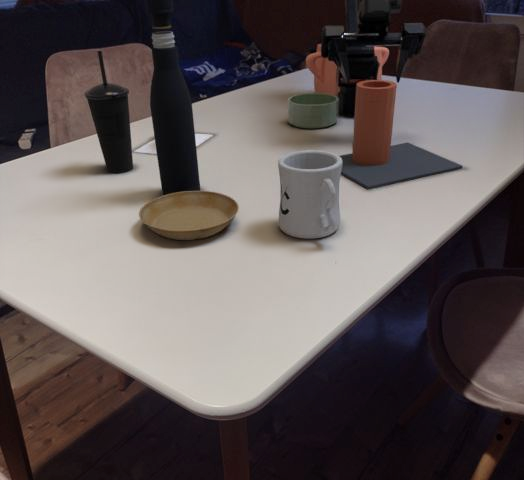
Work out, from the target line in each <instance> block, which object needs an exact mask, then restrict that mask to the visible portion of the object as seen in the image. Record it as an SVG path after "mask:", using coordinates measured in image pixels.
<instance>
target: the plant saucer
mask: <svg viewBox="0 0 524 480" xmlns="http://www.w3.org/2000/svg"><path fill="white" fill-rule="evenodd" d="M239 209H240V206H239V203H238V201H236V200H235V199H234V198H233V197H231V196H228V195H227V194H224V193H221V192H215V191H208V190H201V191H184V192H177V193H172V194H167V195H164V196H163V195H161V196H159V197H155V198H153V199H151V200H150V201H148V202H147V203H146V202H145V204H144V205H143V206H141V208H140V210H139V211H138V217H139V219H140V220H141V222H142V223H143V224H144V225H145V226H146V227H147V228H148V229H150V230H151V231H153V232H155V233H156V234H158V235H160V236H161V237H163V238H167V239H169V240H170V239H171V240H176V241H194V240H195V241H196V240H200V239H204V238H209V237H212V236H214V235H217V234H218V233H220V232H222V230H224V229H225V228H227V226H228V225H229V224H230V223H231V222H232V221H233V220H234V218H235V217H236V216H237V214H238V213H239Z"/></svg>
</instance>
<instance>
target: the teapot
mask: <svg viewBox="0 0 524 480" xmlns="http://www.w3.org/2000/svg"><path fill="white" fill-rule="evenodd" d="M374 51H375V56H377V58H378V62H379V63H380V66H379V70H378V75H377V80H383V66H384V65H385V64H386V62H387V61H388V59H389V55H390V50H389V48H387V47H386V46H374ZM305 64H306V68H307V69H308V70H309V71H310V73H311V74H312V75H313V86H314V88H313V89H314V93H325V94H331V95H334V96H337V97H338V92H340V87H338V86H337V84H336V70H337V66H336V64H335V63H334V62H333V61H329V60H328V58H323V57H322V56H321V43H318V44H317V46H316V52H313V53H310V54H308V55H306V58H305ZM341 79H342V78H341Z"/></svg>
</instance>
